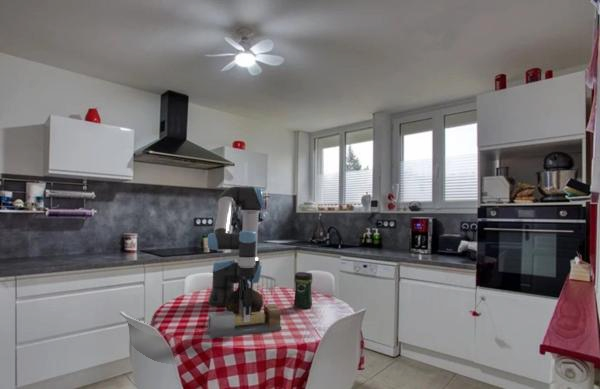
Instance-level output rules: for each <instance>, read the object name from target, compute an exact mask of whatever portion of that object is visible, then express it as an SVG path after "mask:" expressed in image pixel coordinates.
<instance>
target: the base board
mask: <svg viewBox="0 0 600 389" xmlns="http://www.w3.org/2000/svg"><path fill="white" fill-rule="evenodd" d="M208 326H209V324H207V326H206V327H207V328H208V329H207V330H208V333H210V334H209V336H210V339H216V338H215V337H219V338H225V336H227V337H235V336H242V335H250V334H252V335H253V334H261V333H269V332H276V331H282V325H280V326H272V327H269V326H268V324H267V323H266V322H265V323H256V324H247V325H238V326H235V329H233V330H224V331H215V332H210V330H209V327H208Z"/></svg>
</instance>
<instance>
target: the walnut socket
mask: <svg viewBox="0 0 600 389" xmlns="http://www.w3.org/2000/svg"><path fill="white" fill-rule="evenodd" d="M263 312H264V314H265V322H266V323H267V324H268V326H269V327H272V326H281V319H282V316H281V315H282V310H281V308H280V307H279V306H277V305H276V304H275V303H270V304H263Z"/></svg>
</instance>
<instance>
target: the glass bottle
mask: <svg viewBox="0 0 600 389" xmlns="http://www.w3.org/2000/svg"><path fill="white" fill-rule="evenodd" d="M240 277H242V276H240ZM240 277H239V284H238V286H237V288H236V290H234V292H232V293H230V294H229V296H228V297H227V299H226V306H225V308H226V311H233V313H234V314H239V295H240ZM263 307H264V300H263V296H262V294H260V293H259V292H258V291H256V290H255V289H254V288H252V306H251V312H261V311H262V308H263Z"/></svg>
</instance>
